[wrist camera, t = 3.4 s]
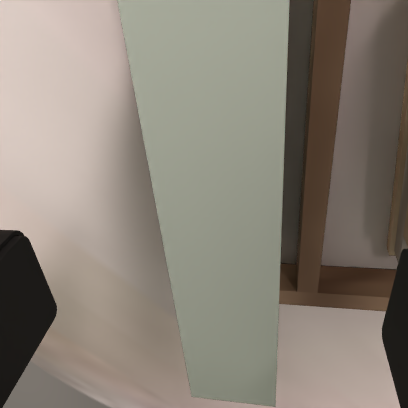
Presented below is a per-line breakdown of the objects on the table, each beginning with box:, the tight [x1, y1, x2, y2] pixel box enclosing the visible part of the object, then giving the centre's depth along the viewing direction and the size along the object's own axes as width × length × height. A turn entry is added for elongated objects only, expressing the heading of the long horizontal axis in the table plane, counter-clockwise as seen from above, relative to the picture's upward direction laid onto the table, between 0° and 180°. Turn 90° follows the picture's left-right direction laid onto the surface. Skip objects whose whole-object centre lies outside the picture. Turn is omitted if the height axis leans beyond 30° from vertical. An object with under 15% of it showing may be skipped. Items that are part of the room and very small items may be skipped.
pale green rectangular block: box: [117, 0, 289, 407], centre depth 14 cm, size 3×14×9 cm, turn 5°
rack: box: [279, 0, 397, 311], centre depth 16 cm, size 16×19×2 cm
